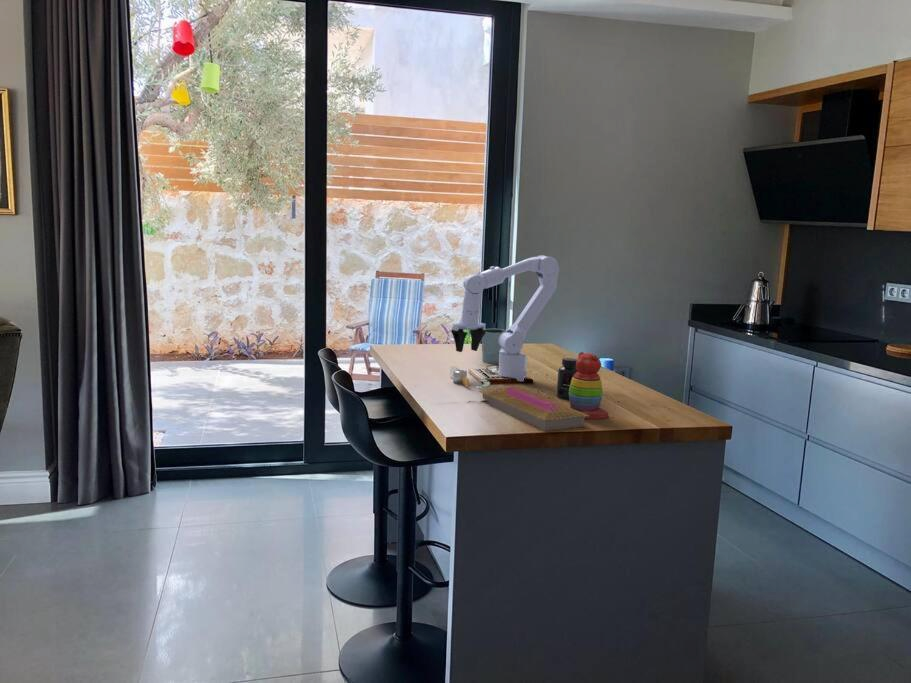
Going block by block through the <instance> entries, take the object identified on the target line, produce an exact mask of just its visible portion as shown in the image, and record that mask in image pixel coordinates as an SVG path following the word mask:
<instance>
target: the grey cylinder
mask: <svg viewBox="0 0 911 683" xmlns="http://www.w3.org/2000/svg"><path fill="white" fill-rule="evenodd" d="M507 330H508V329H502V328H485V331H486V334H485V335H484V336H483V338H482V340H481V351H482V353H481V354H482V356H481V357H482V358H481V359H482V362H483V363H485V364H491V365H493V364H494V365H497V364H498V365H499V353H500V350H501V346H500V345H499V337H500V335H501V334H502V333H503V332H505V331H507Z"/></svg>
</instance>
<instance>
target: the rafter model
mask: <svg viewBox="0 0 911 683" xmlns="http://www.w3.org/2000/svg"><path fill="white" fill-rule="evenodd" d="M478 392H479V393H481V394H482V398H483V400H482V403H485V404H487V405H489V406H490V407H494V408H495V407H496V408H495V409H497V408H498V409H497V410H499V409H500V411H501V410H502V412H504V413H506V414H508V415H510V414H511V415H510V416H512V415H513V417H514V416H515V418H516V417H517V418H516V419H518V418H519V419H518V420H520V419H521V420H520V421H523V422H525V421H526V422H525V423H527V422H528V423H527V424H529V423H530V424H529V425H531V424H532V425H531V426H533V425H534V427H535V426H536V428H537V427H538V428H537V429H539V428H540V429H539V430H542V429H543V430H542V431H544V430H547V431H554V430H553V429H556V430H563V428H565V429H571V428H570V427H573V428H580V426H582V427H585V419H584V417H586V416H589V415H587V414H584V413H582V412H579V411H576V410H574V409H571V408H570V407H569V406H568V405H567V406H566V405H565V404H561V403H558V402H557V401H554V400H551V399H550V398H547V397H544V396H542V395H540V394H537V393H535V392H531V391H530V390H527V389H524V388H522V387H519V386H515V385H509V386H504V387H497V388H489V389H485V390H484V389H483V390H478ZM578 412H579V413H578ZM583 414H584V415H583Z"/></svg>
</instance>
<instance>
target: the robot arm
mask: <svg viewBox="0 0 911 683" xmlns="http://www.w3.org/2000/svg"><path fill="white" fill-rule="evenodd" d="M524 272H533V273H535V274H536V276H537V277H538V281H539V286H538V288H537V289H536V291H535V292H534V294H533V295H532V297H531V298H530V300H529V301H528V302H527V304H526V305H525V307H524V309H523V310H522V312H521V313H520V314H519V316H518V317H517V318H516V320H515V321H514V323H512V324H511V325H510V326H509V327H508V328H507V329H506V330H507V331H505V332H503V333H502V334H501V335H500V337H499V345H500V346H501V350H500V353H499V364H498V376H499V375H500V377H502V376H503V377H504V378H513V379H514V378H516V379H517V380H516V381H518V382H524V381H525V380H524V378H525V377H526V378H527V374H528V372H527V369H528V368H527V367H528V366H527V365H528V356H527V354H526V353H525V354H524V353H522V352H521V351H522V349H523V346H524V342H525V340H526V338H527V332H528V331H529V329H530V328H531V327H532V324H534V322H535V321H536V319H537V317H539V315H540V314H541V312H542V310H543V309H544V307H545V306H546V305H547V303H548V302H549V300H550V299H551V298H552V296H553V294H554V293H555V291H556V290H557V289H558V288H557V287H558V278H559V273H560V266H559V264H558V260H557V259H556V258H554V257H553V256H546V255H544V254H540V255H536V256H532V257H529V258H525V259H524V260H520V261H519V262H516V263H512V264H511V265H508V266H506V267H504V268H501V267H500V266H495V265H493V266H490V267H489V268H488V269H487V270H484V271H477V272H476V275H475V274H470V275H468V276H467V277H466V278H465V279H464V282H463V283H462V284H463V287H464V296H463V302H462V312H461V321H459V322H458V323H452V329H451V330H450V331H451V335H452V336H453V339H454V345H455V351H456V352H459V353H462V352H463V351H464V350H463V349H464V345H465V341H466V338H467V335H468V332H465V331H469V332H470V336H471V337H470V338H471V340H470V348H471V351H474V352H477V351H478V348H479V346H480V344H481V343H482V338H483V336H484V335H485V334H486V331H485V329H486V324H487V323H483V322H479V319H480V313H481V312H480V309H481V300H482V292H483V291H484V289H489V288H492V287H494V286H497V285H500V284H503V283H504V281H505V280H506V278H508V277H512V276H515V275H518V274H522V273H524ZM526 378H525V379H526Z"/></svg>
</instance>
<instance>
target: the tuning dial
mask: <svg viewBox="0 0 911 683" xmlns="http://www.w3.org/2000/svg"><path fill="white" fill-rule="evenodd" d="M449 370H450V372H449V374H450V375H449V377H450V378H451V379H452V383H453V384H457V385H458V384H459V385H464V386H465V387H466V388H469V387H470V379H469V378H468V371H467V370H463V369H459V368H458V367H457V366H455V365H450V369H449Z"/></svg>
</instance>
